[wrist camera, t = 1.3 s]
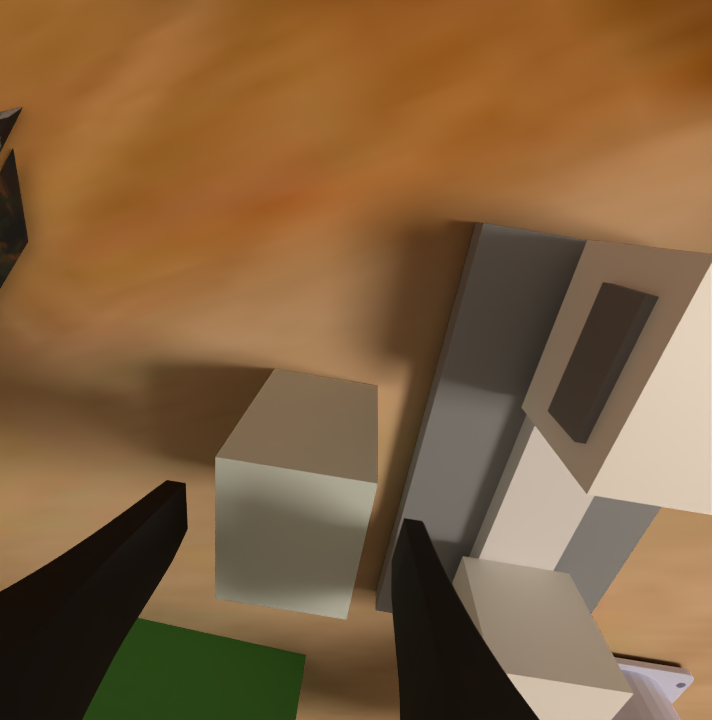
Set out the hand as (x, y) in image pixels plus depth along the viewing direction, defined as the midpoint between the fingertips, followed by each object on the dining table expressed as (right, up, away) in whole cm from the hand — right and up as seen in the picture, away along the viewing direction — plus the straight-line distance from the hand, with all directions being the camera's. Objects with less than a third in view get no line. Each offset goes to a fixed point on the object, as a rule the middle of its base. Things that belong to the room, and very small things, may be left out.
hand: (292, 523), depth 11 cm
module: (0, +2, +5) cm, 5 cm away
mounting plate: (+10, 0, +5) cm, 11 cm away
